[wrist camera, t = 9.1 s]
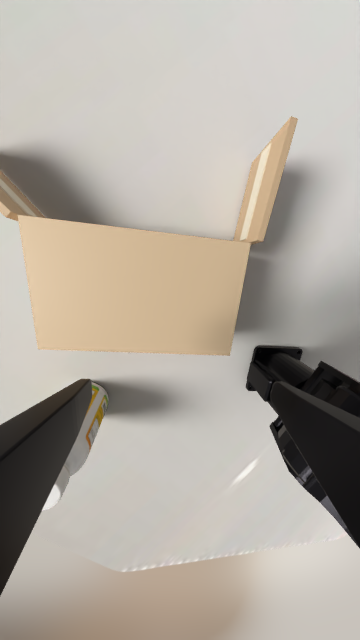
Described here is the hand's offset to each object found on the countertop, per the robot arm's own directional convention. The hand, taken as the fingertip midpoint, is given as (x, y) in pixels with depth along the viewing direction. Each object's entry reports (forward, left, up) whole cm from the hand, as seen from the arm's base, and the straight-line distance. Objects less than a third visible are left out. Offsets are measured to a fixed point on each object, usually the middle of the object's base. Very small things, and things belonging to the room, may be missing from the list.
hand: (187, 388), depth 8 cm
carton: (+3, -3, -12) cm, 13 cm away
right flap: (-6, -12, -12) cm, 18 cm away
